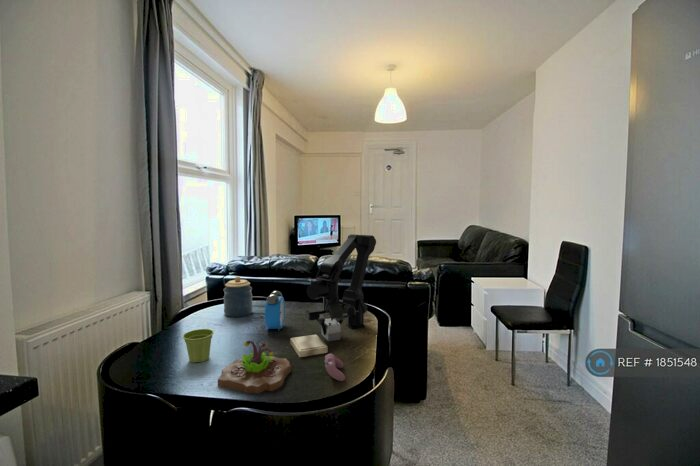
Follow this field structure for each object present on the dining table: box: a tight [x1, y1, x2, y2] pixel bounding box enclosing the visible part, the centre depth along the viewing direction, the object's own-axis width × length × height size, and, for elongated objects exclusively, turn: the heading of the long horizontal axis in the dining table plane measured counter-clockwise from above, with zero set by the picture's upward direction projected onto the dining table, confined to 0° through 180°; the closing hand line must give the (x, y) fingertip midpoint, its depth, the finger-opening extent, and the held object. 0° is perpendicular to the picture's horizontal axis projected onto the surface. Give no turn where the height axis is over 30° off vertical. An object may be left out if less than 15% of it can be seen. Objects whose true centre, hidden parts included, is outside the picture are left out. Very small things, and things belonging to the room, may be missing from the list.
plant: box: [217, 339, 292, 394], centre depth 106 cm, size 20×20×11 cm
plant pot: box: [182, 328, 215, 364], centre depth 117 cm, size 9×9×9 cm
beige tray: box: [289, 334, 329, 358], centre depth 127 cm, size 10×13×2 cm
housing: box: [320, 317, 342, 342], centre depth 137 cm, size 5×8×7 cm, turn 23°
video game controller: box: [324, 352, 346, 382], centre depth 107 cm, size 10×5×7 cm, turn 5°
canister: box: [223, 276, 253, 318], centre depth 167 cm, size 13×13×18 cm
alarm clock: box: [264, 290, 286, 332], centre depth 147 cm, size 13×6×15 cm, turn 1°
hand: (330, 333), depth 137 cm, fingers closed on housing, 5 cm apart
